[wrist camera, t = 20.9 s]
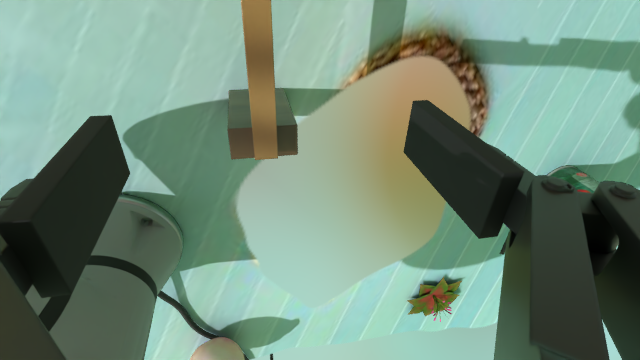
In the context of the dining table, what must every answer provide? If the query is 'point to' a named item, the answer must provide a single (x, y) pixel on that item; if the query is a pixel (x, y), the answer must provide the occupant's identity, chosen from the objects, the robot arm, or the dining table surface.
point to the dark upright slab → (242, 125)
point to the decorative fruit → (218, 350)
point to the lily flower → (434, 298)
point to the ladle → (260, 76)
